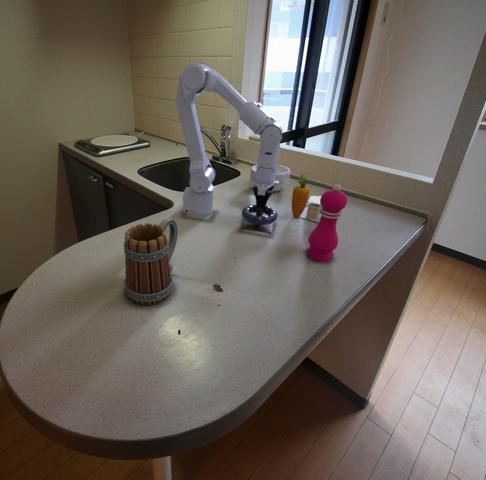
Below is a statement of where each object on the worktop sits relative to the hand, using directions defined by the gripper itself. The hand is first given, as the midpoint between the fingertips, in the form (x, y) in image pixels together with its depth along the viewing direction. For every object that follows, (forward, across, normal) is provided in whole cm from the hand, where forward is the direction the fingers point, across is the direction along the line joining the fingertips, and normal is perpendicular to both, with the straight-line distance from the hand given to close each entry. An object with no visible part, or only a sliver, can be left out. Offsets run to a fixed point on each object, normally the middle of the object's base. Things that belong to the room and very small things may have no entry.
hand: (261, 208), depth 99 cm
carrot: (+5, +6, -11) cm, 13 cm away
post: (+5, -4, 0) cm, 6 cm away
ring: (0, -4, 0) cm, 4 cm away
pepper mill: (+5, -14, -18) cm, 23 cm away
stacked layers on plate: (+5, +12, -17) cm, 21 cm away
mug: (+5, -40, +18) cm, 44 cm away
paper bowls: (+5, +32, +1) cm, 32 cm away
